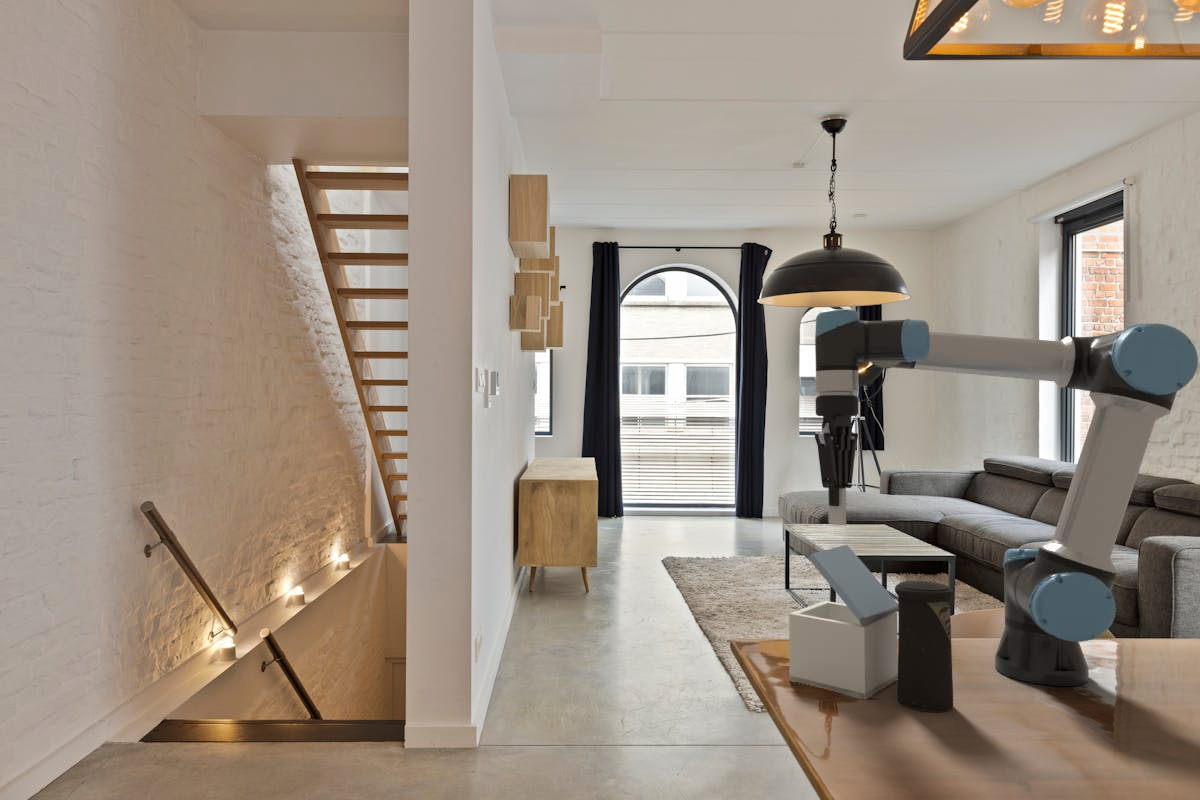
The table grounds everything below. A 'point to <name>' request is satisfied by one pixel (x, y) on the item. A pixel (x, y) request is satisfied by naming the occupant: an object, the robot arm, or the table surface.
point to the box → (842, 650)
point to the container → (924, 646)
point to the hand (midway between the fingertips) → (837, 523)
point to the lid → (854, 584)
